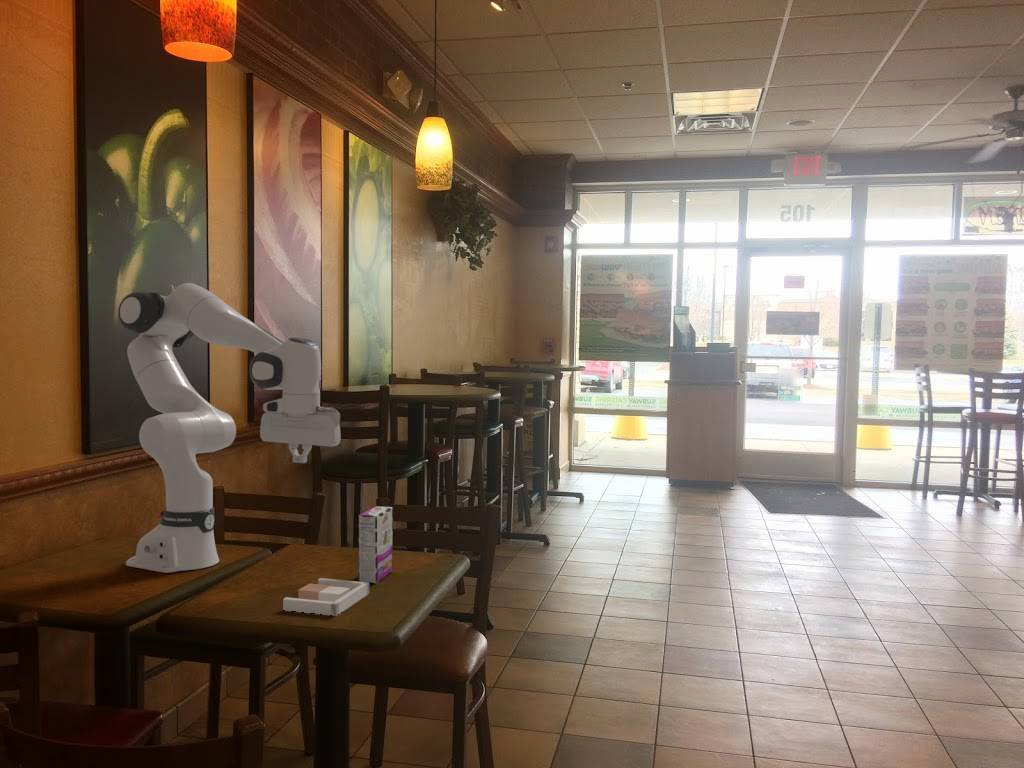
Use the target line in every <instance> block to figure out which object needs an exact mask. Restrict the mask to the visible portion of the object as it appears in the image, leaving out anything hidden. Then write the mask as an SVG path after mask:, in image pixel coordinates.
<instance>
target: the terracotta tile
mask: <svg viewBox="0 0 1024 768" xmlns="http://www.w3.org/2000/svg"><path fill="white" fill-rule="evenodd" d="M329 586H330V585H320V584H318V583H308V584H306V585H305V586H303V587H301V588H299V589H298V591H297V592H298V593H297V594H298V595H297V596H298V599H308V600H318V592H320V591H322V590H323V589H325V588H327V587H329Z"/></svg>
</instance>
